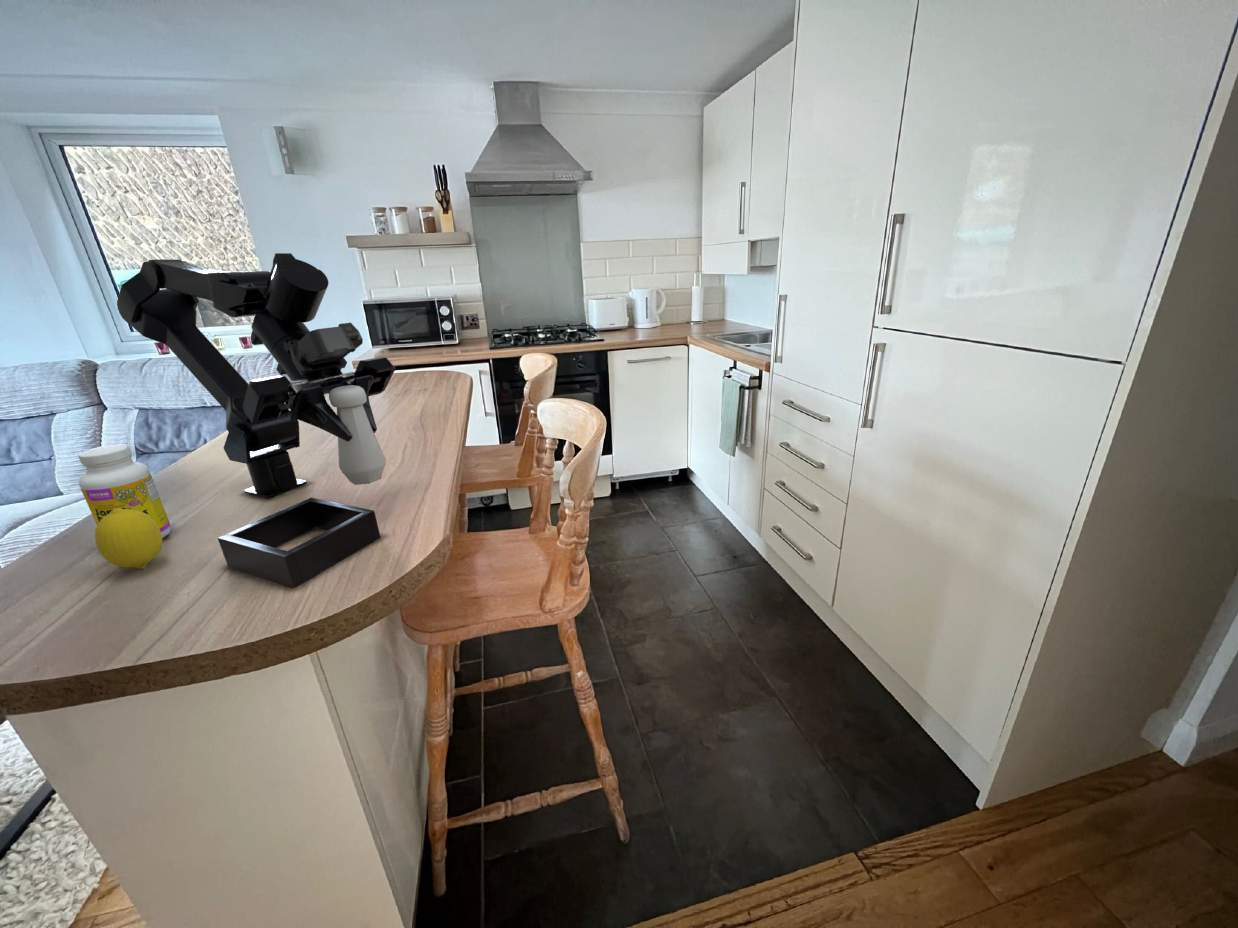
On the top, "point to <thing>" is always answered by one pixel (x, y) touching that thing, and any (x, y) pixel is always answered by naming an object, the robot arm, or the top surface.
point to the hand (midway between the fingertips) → (362, 435)
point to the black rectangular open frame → (297, 565)
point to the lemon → (128, 538)
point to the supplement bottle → (120, 485)
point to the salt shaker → (357, 437)
